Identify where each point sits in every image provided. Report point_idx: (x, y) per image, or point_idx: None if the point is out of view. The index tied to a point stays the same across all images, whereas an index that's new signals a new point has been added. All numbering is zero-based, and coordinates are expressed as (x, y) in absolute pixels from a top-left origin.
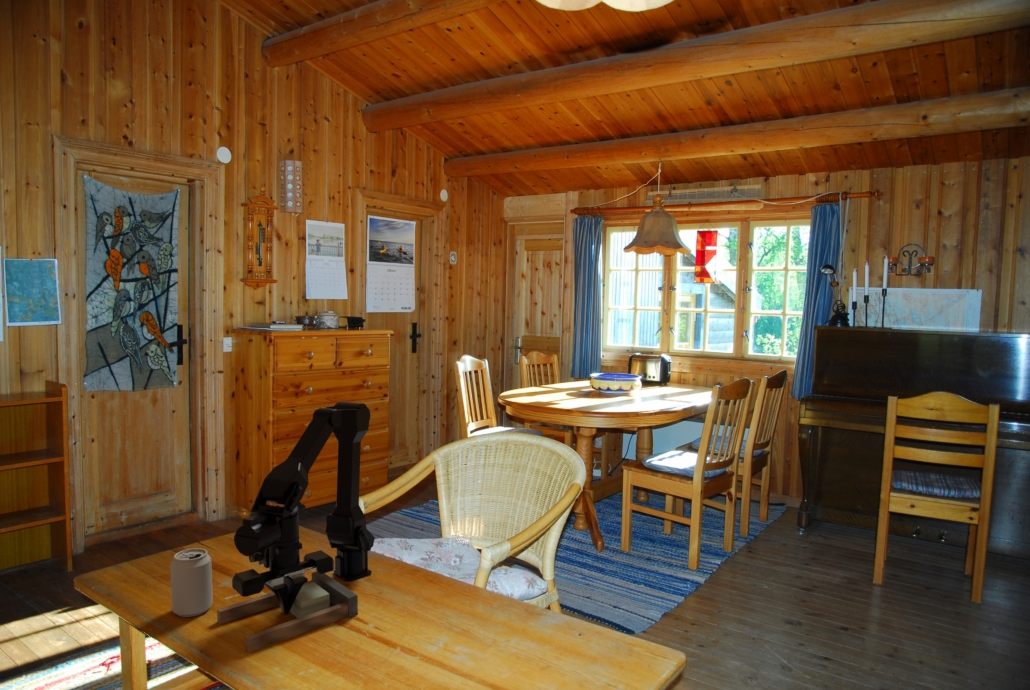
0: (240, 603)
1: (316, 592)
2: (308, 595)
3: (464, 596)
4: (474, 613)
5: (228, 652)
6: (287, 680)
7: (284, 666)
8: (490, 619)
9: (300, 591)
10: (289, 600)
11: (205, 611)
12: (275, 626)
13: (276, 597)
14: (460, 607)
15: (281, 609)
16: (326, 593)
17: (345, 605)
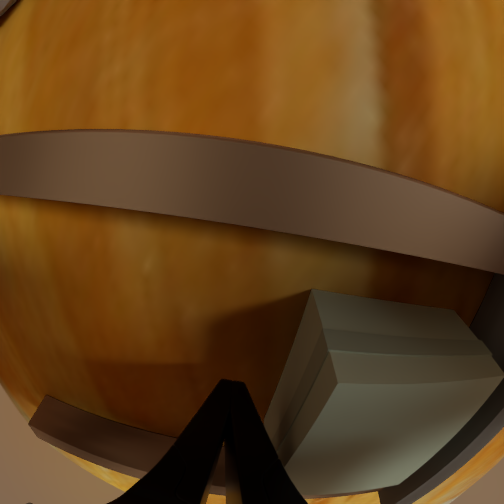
0: (12, 158)
1: (393, 467)
2: (346, 476)
3: (496, 455)
4: (445, 490)
5: (10, 366)
6: (113, 485)
7: (118, 474)
8: (432, 500)
9: (373, 437)
10: (225, 482)
11: (13, 3)
12: (116, 464)
13: (169, 449)
14: (461, 477)
15: (211, 393)
16: (398, 480)
17: (374, 490)
